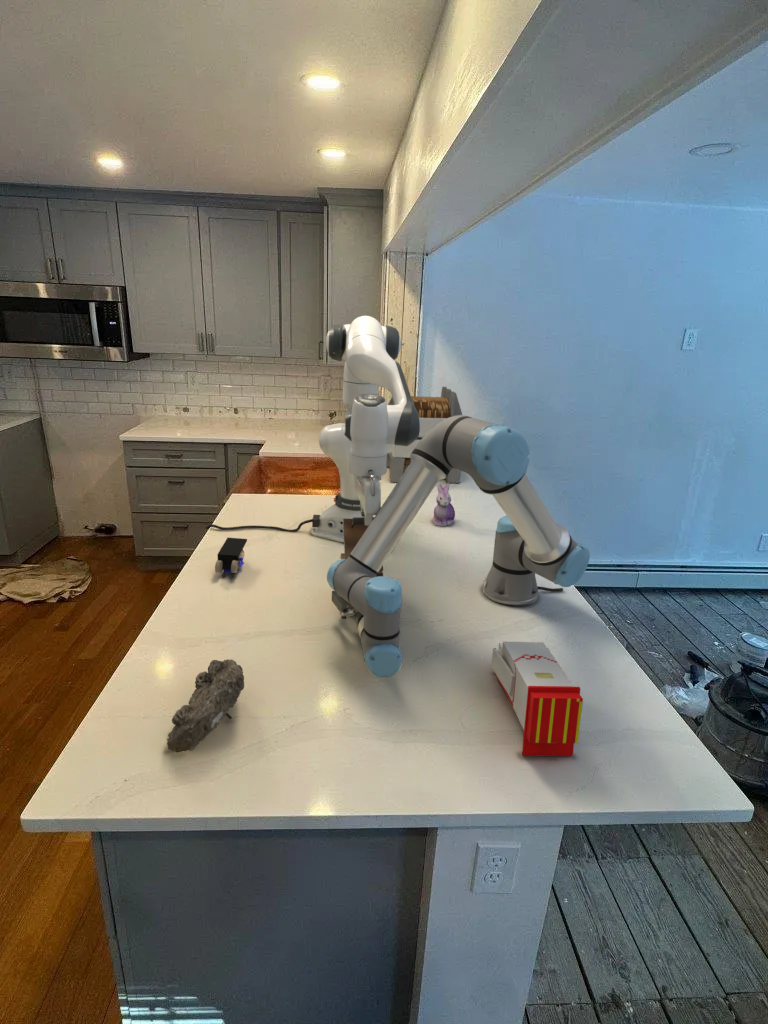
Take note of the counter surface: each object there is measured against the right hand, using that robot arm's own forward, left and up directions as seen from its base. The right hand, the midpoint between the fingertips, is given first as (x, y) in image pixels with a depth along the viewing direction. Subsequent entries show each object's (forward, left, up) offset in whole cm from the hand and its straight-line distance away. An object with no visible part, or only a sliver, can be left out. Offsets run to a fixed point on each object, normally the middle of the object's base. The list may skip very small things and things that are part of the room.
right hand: (361, 580), depth 149 cm
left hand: (0, +5, +19) cm, 19 cm away
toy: (-28, +45, -7) cm, 53 cm away
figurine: (-39, -59, -7) cm, 71 cm away
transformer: (-44, -125, -7) cm, 133 cm away
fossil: (+34, +41, -7) cm, 53 cm away
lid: (0, 0, +10) cm, 10 cm away
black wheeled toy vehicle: (+35, -24, -7) cm, 43 cm away
